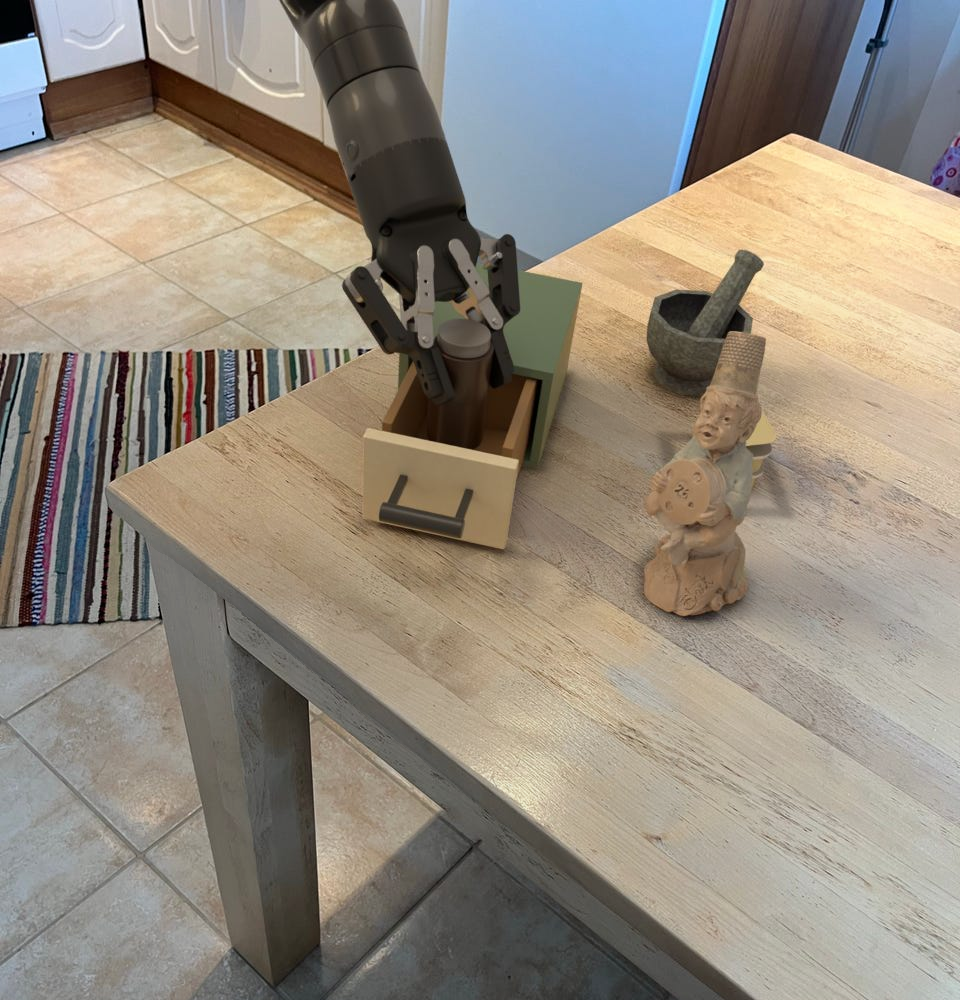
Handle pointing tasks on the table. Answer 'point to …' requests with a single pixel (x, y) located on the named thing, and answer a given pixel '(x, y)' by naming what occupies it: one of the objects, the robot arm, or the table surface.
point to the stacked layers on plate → (760, 445)
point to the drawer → (448, 466)
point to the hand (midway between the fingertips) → (473, 392)
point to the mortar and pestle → (698, 327)
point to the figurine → (708, 491)
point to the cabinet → (531, 344)
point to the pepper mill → (462, 384)
